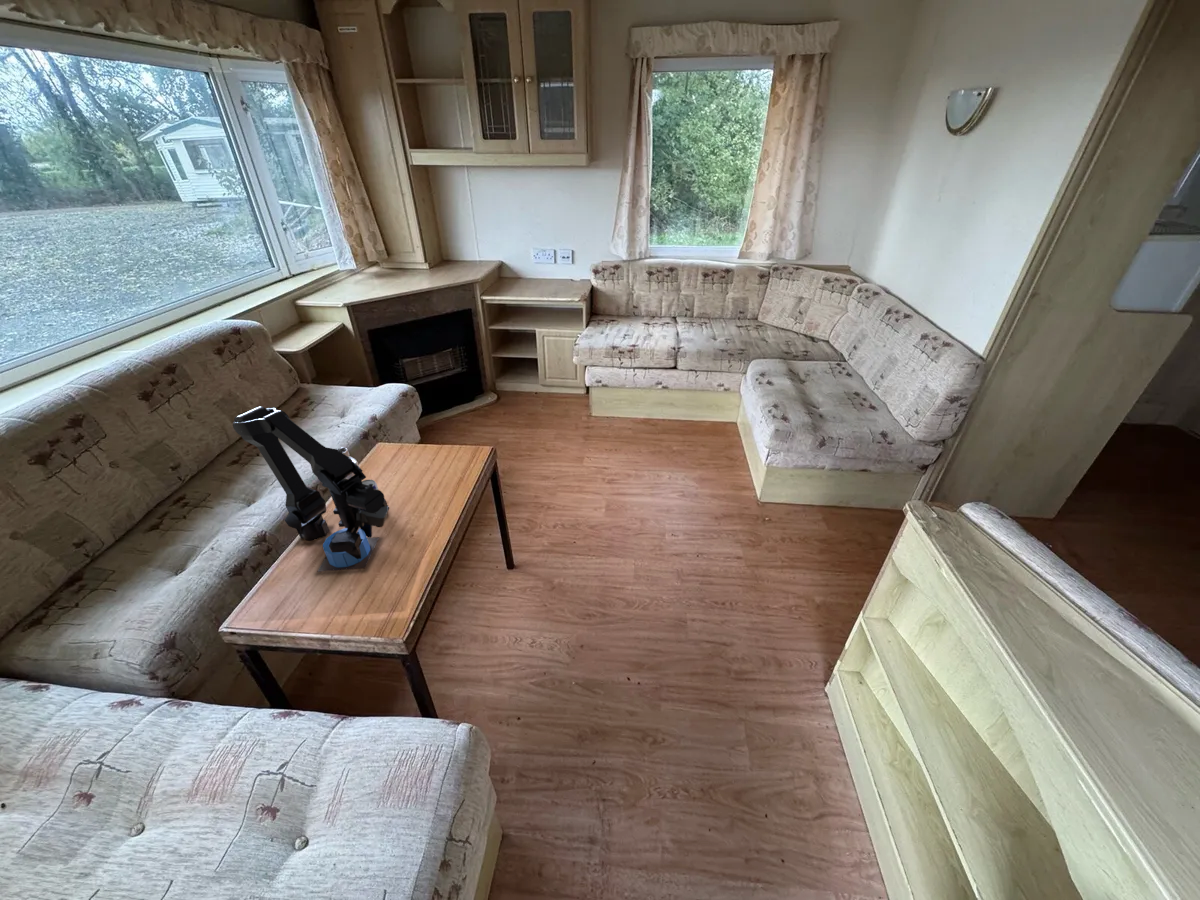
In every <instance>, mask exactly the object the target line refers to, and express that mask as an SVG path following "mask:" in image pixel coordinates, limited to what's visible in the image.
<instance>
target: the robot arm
mask: <svg viewBox="0 0 1200 900" xmlns="http://www.w3.org/2000/svg"><path fill="white" fill-rule="evenodd" d="M233 419H234V421H233V422H232V428H233V430H234V431H235V432H236V433H237V434H238V435H239V436H240V437H241V438H242V440H243V441H244V442H246V443H248V444H251V445H252V446H255V447H256V448H257V449H258V451H259V453H260V454H261V456H262V457H263V459H264V460H265V462H266V464H267V466H268V467H269V469H270V471H271V472H272V473H273V475H274V476H275V478H276V480H277V481H278V483H279V485H280V486H281V488H282V489H283V492H285V494H286V496H285V508H286V510H287V512H288V514H287V516H286V517H285V518H284V522H285V523H286V524H287V526H288V527H289V528H292V529H295V530H296V531H297V533H298V535H299V538H300V539H301V540H302V539H303V540H304V541H306V542H313V541H316V540H319V539H321V538H325V537H327V535H328V533H329V532H330V528H329V525H328V523H327V520H326V519H324V517H323V515H324V514H326V513H327V503H326V500H325V498H324V497H323V496H322V495H321V492H320V491H319V490H317V489H312V488H311V487H309V486H307V485H306V483H305V482H304V479H303V478H302V477H301V475H300V473H299V471H298V470H297V468H296V467H295V465H294V463H293V462H292V460H291V458H290V457H289V455H288V453H287V451H286V450H285V448H284V447H283V444H282V443H284V444H285V445H286V446H288V447H289V448H290V449H291V450H292V451H294V452H295V453H297V454H298V455H299V456H300V457H302V458H303V459H304V460H305V461H306V462H307V463H308V464H310V468H311V471H312V474H313V475H314V476H315V477H316V478H317V480H318V481H319V482H320V483H321V486H322V487H324V488H327V489H328V491H329V494H330V496H331V497H330V498H331V499H332V501H333V504H334V507H335V508H334V509H333V511H332V513H333V514H334V515H338V517H339V522H338V523H337V524H338V527H339V528H348V529H347V531H346V533H336V535H335V536H334V537H333V539H332V541H331V542H330V544H329V548H330V550H331V552H332V553H333V552H347V553H349V554H350V555H352V556H353V557H355V558H356V559H361V552H360V547H359V546H360V544H361V542H362V540H363V539H361V537H360V535H359V534H357V532H358V530H359V528H360V529H363V530H364V532H365V534H366V537H367V538H372V537H373V527H375V528H383V527H384V525H385V523H386V521H387V519H388V516H389V515H388V513H389V510H390V507H389V504H388V502H387V500H386V498H385V494H384V492H382V491H381V490H380V489H378V490H377V489H374V488H373V486H370V485H365V484H362V481H364V480H366V478H367V476H366V475H365V473H364V472H363V471H364V470H363V469H362V468H361V467H360V466H359V467H358V466H357V465H356V464H355V463H354V462H353V461H352V460H351V459H350V458H349V457H348V456H346V455H344V454H343V453H341V452H340V451H338V450H337V449H338V448H332V447H327V446H324V445H323V444H322V443H321V442H319V441H318V440H316V439H315V438H314V437H313V436H312V435H310V433H308V432H306V430H304V429H303V428H302V427H300V426H299V425H298V424H297V423H295V421H292V419H291V418H290V417H289V415H288V414H287V413H286V412H285V411H284V410H279V409H277V408H276V407H267V408H266V407H264V406H260V405H259V406H257V407H255V408H253V409H250V410H248V411H246V412H244V413H242V414H239V415H237V416H235V417H234V418H233ZM281 442H282V443H281ZM351 473H354V474H355V475H354V476H352V477H351V478H349V479H346V477H347V476H348V475H350V474H351Z"/></svg>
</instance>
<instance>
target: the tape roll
mask: <svg viewBox="0 0 1200 900" xmlns="http://www.w3.org/2000/svg"><path fill="white" fill-rule="evenodd" d="M347 529H348V528H345V527H343V528H342V529H339V530H336V531H334V532H332V533H331V534H330V535H329V536H326V538H325V540H324V542H323V543H322V549H323V551H324V554H325V557H327V559H328V561H329V563H330V565H332V566H335V567H337V568H339V567H349V566H351V565H354V564H357V563H358V562H360V561H362V560H363V559H364V558H365V557H367V555H368V553H369V551H370V545H369V543H368V540H367V538H368V537H367V536H366V534H365V532H364V530H363V529H361V528H359V530H358V532H357V534H359V535H360V537H361V539H363V540H362V542H361V544H360V546H359V547H360V552H361V559H356V558H355V557H353V556H352V555H350V554H349V553H347V552H333V553H332V552H331V550H330V548H329V544H330V542H331V541H332V539H333V537H334V536H335V535H336V533H346V531H347Z"/></svg>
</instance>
